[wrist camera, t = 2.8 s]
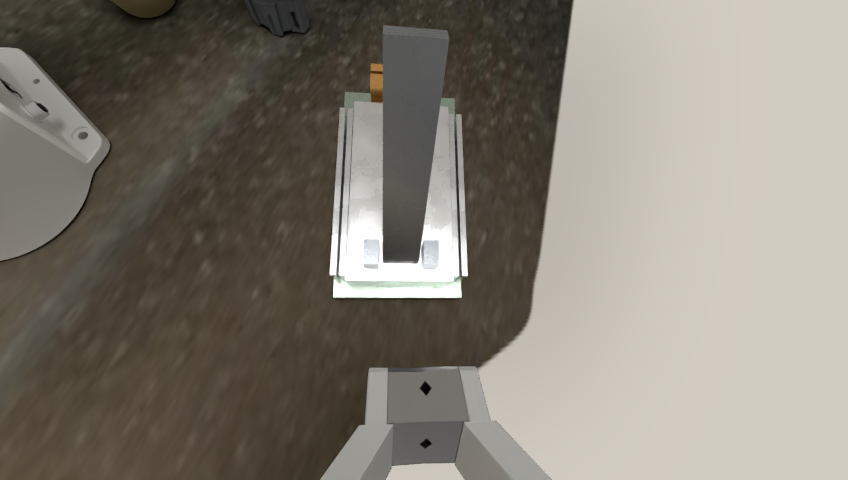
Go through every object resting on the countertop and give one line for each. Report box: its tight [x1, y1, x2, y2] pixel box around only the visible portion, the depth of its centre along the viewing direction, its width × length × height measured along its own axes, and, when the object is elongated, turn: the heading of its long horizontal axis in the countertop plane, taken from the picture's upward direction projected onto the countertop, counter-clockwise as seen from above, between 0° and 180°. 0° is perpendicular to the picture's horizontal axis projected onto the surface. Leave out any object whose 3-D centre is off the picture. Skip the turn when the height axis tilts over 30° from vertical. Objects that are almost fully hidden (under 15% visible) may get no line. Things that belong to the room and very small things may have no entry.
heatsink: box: [330, 64, 468, 299], centre depth 33 cm, size 22×12×8 cm, turn 0°
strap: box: [383, 25, 449, 262], centre depth 23 cm, size 18×3×1 cm
